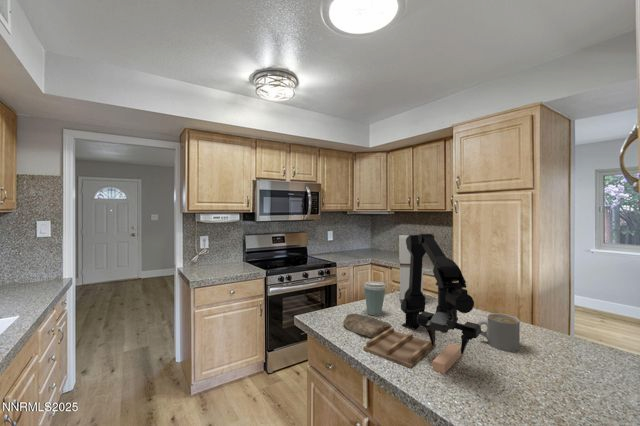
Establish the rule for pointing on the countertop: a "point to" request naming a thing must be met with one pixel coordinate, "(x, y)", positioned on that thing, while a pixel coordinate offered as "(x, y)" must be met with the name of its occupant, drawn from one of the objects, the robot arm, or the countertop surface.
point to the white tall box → (405, 267)
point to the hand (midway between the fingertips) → (447, 349)
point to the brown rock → (365, 325)
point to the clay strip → (446, 358)
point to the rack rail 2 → (419, 351)
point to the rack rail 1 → (379, 337)
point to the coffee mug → (502, 331)
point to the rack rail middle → (399, 344)
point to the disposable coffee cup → (374, 297)
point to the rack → (399, 349)
